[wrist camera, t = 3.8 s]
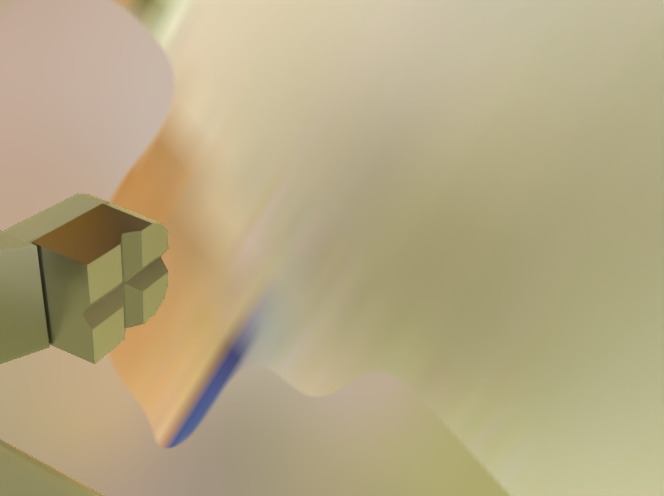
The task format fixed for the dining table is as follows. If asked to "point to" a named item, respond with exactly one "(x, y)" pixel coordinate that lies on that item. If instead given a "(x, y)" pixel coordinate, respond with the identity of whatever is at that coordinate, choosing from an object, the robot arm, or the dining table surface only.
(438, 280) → the dining table surface
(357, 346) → the dining table surface
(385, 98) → the dining table surface
